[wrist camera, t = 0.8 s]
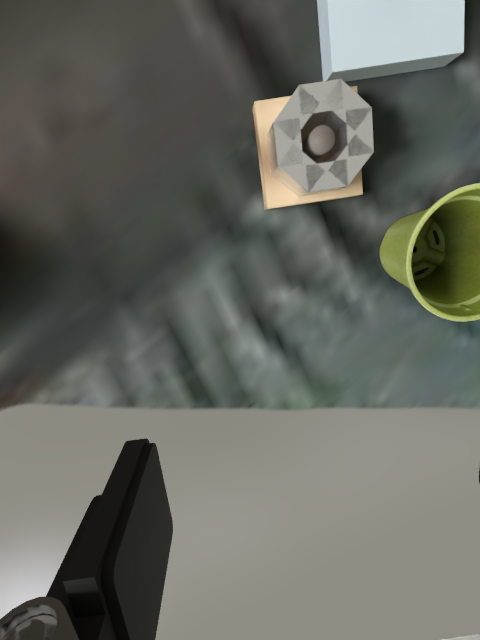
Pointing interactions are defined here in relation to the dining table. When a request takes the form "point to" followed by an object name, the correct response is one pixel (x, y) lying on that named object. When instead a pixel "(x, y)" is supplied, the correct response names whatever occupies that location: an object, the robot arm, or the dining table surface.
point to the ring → (311, 111)
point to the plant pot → (440, 254)
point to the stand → (313, 145)
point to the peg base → (388, 36)
